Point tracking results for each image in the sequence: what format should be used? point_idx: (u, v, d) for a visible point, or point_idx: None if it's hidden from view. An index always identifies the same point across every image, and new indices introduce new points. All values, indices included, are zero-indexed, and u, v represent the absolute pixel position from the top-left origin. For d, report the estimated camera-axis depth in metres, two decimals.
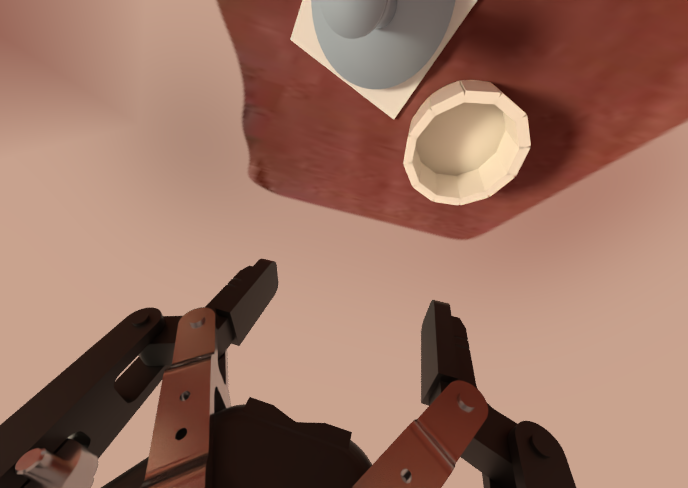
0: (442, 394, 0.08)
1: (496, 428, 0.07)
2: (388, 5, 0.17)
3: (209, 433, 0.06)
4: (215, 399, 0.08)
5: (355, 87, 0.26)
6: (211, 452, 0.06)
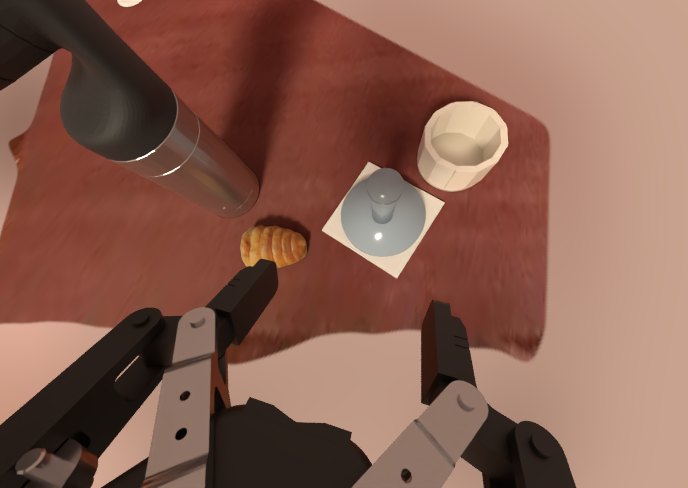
0: (442, 394, 0.08)
1: (496, 428, 0.07)
2: None
3: (209, 433, 0.06)
4: (215, 399, 0.08)
5: (424, 231, 0.35)
6: (212, 453, 0.06)
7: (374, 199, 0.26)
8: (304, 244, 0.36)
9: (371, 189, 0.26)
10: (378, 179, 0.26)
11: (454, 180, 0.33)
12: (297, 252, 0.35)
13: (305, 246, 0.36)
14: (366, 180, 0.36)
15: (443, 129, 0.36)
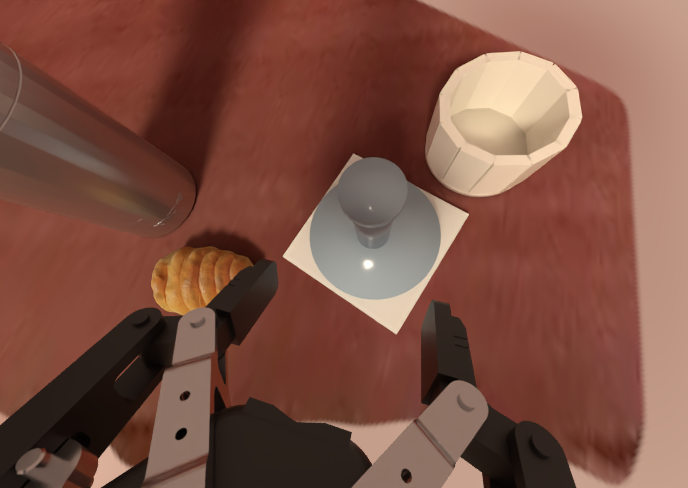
0: (442, 394, 0.08)
1: (496, 428, 0.07)
2: None
3: (209, 433, 0.06)
4: (215, 399, 0.08)
5: (439, 259, 0.23)
6: (212, 452, 0.06)
7: (351, 217, 0.13)
8: None
9: (345, 198, 0.13)
10: (358, 179, 0.14)
11: (487, 180, 0.20)
12: None
13: None
14: None
15: (465, 102, 0.24)
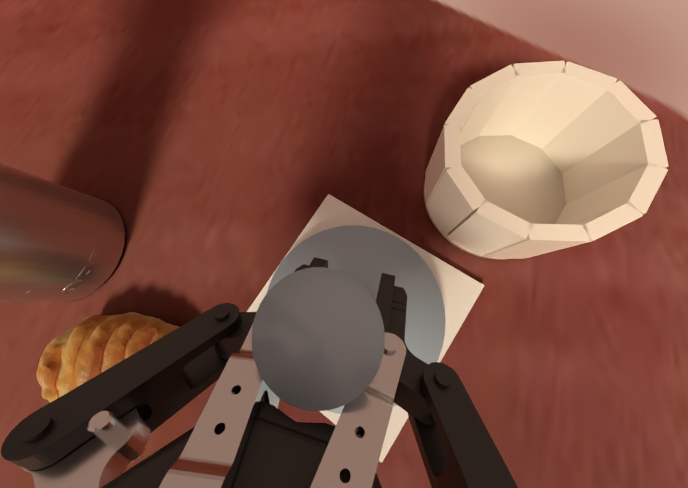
0: None
1: (413, 369, 0.09)
2: None
3: (240, 442, 0.06)
4: (263, 399, 0.08)
5: (442, 351, 0.16)
6: (236, 463, 0.06)
7: None
8: None
9: (265, 352, 0.07)
10: (293, 312, 0.07)
11: (515, 249, 0.14)
12: None
13: None
14: (319, 235, 0.18)
15: (478, 129, 0.17)
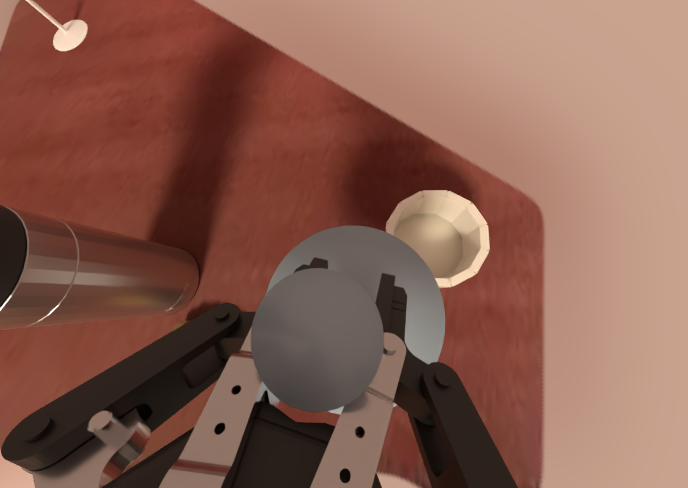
0: None
1: (413, 369, 0.09)
2: None
3: (240, 442, 0.06)
4: (263, 399, 0.08)
5: None
6: (236, 463, 0.06)
7: None
8: None
9: (264, 353, 0.07)
10: (292, 313, 0.07)
11: None
12: None
13: None
14: (319, 236, 0.18)
15: (413, 212, 0.30)
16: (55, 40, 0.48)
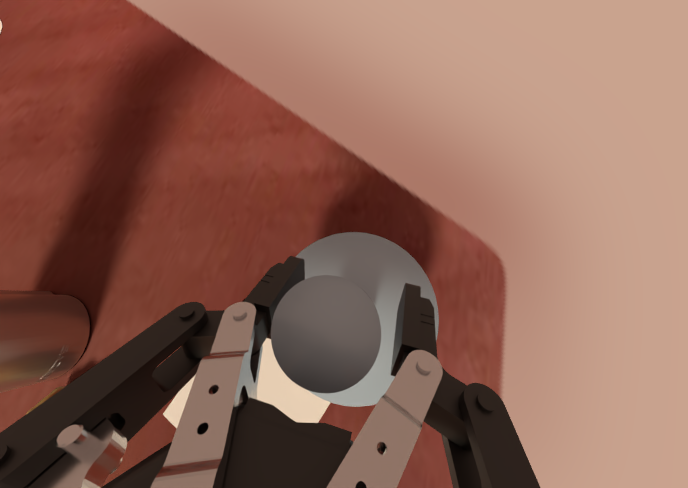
0: (403, 366, 0.08)
1: (450, 390, 0.08)
2: None
3: (227, 435, 0.06)
4: (242, 396, 0.08)
5: None
6: (226, 456, 0.06)
7: None
8: None
9: (282, 345, 0.08)
10: (305, 312, 0.09)
11: None
12: None
13: None
14: (323, 241, 0.19)
15: None
16: None
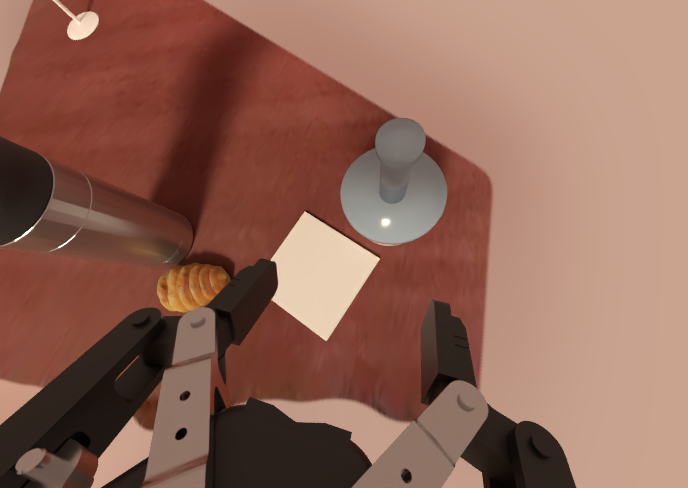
0: (442, 394, 0.08)
1: (496, 428, 0.07)
2: None
3: (209, 433, 0.06)
4: (215, 399, 0.08)
5: (357, 290, 0.33)
6: (211, 452, 0.06)
7: (385, 160, 0.19)
8: (225, 277, 0.35)
9: (381, 146, 0.19)
10: (390, 133, 0.19)
11: None
12: (217, 286, 0.34)
13: (227, 279, 0.35)
14: (372, 151, 0.30)
15: None
16: (69, 29, 0.53)
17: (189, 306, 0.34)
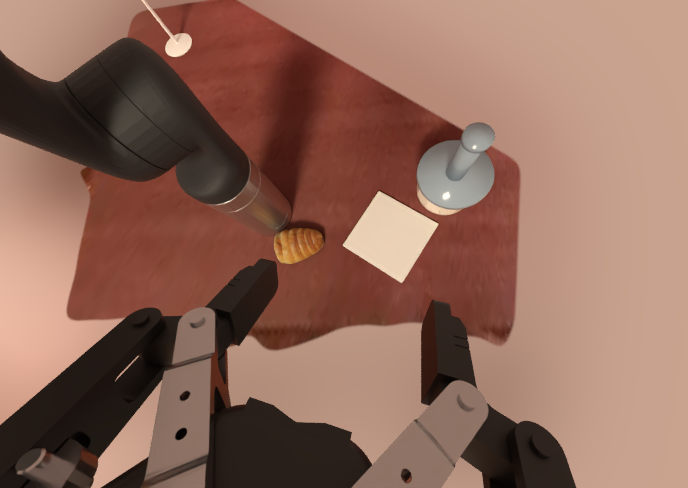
0: (442, 394, 0.08)
1: (496, 428, 0.07)
2: None
3: (209, 433, 0.06)
4: (215, 399, 0.08)
5: (423, 246, 0.45)
6: (212, 452, 0.06)
7: (469, 148, 0.31)
8: (321, 236, 0.47)
9: (467, 139, 0.31)
10: (472, 131, 0.31)
11: None
12: (317, 243, 0.46)
13: (322, 238, 0.47)
14: (438, 144, 0.42)
15: None
16: (167, 48, 0.64)
17: (297, 258, 0.46)
